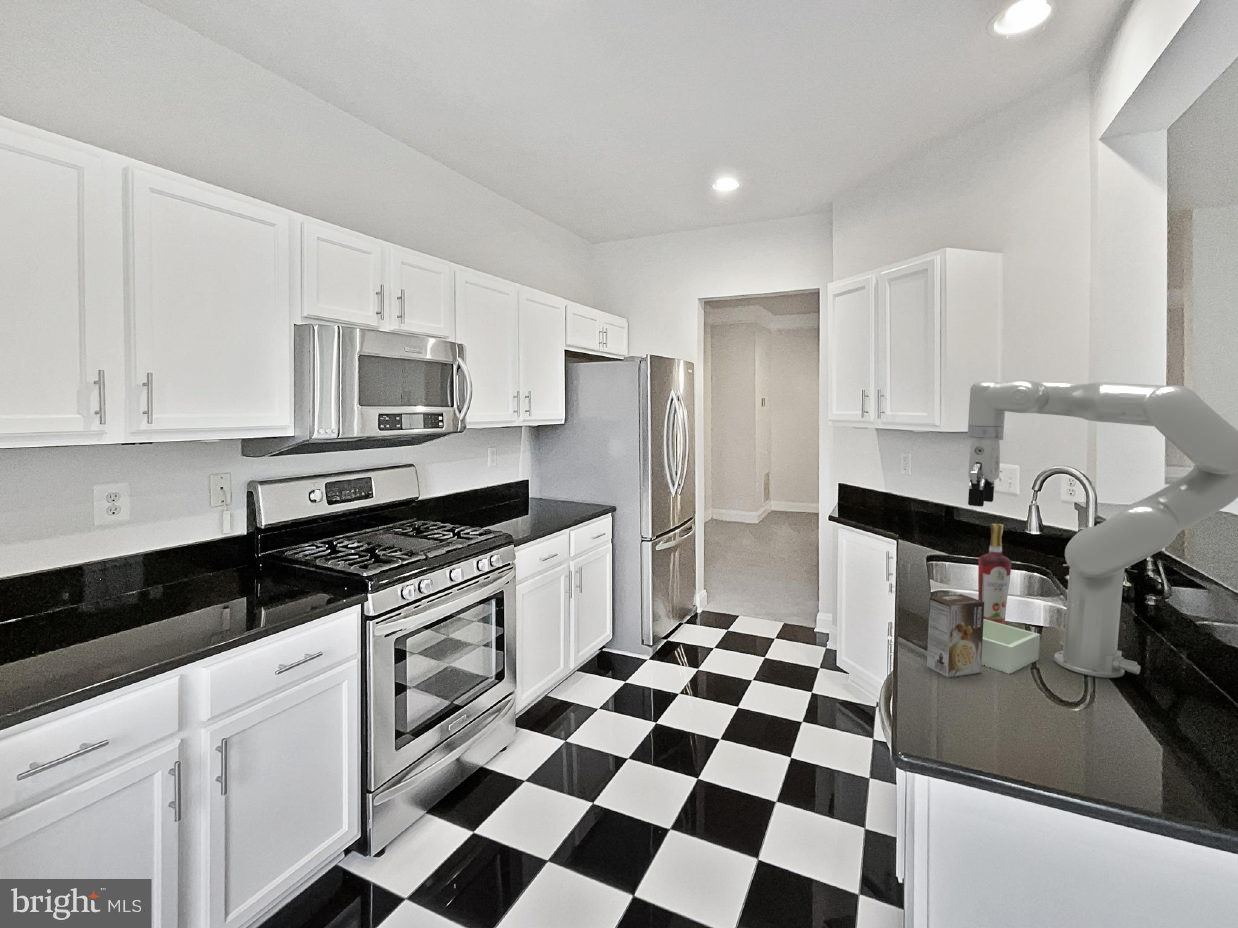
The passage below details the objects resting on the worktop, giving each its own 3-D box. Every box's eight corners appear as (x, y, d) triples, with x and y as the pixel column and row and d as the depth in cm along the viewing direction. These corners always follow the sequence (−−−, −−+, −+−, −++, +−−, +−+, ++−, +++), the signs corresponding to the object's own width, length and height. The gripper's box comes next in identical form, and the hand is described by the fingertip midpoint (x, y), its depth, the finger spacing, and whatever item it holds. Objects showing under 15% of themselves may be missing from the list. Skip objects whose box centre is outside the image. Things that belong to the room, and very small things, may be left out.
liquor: (1001, 627, 163) (1008, 522, 161) (1011, 637, 156) (1018, 528, 154) (970, 625, 165) (976, 521, 163) (979, 634, 158) (985, 526, 155)
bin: (1038, 659, 143) (1040, 634, 142) (1009, 673, 135) (1011, 647, 135) (959, 635, 158) (960, 612, 157) (929, 647, 150) (930, 623, 149)
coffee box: (958, 661, 142) (962, 593, 140) (981, 673, 135) (986, 601, 134) (925, 666, 139) (928, 596, 138) (947, 678, 133) (951, 605, 131)
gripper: (994, 435, 141) (989, 509, 143) (1010, 433, 154) (1006, 501, 156) (958, 434, 146) (954, 505, 148) (976, 432, 159) (972, 498, 161)
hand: (980, 503), depth 152 cm, fingers open, 9 cm apart
